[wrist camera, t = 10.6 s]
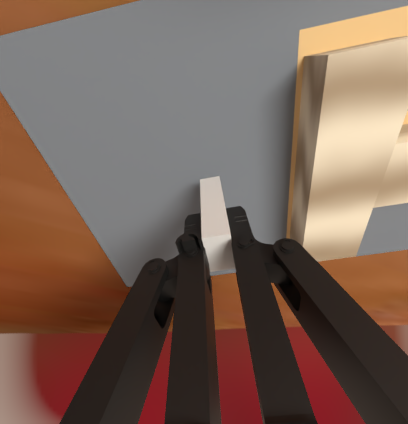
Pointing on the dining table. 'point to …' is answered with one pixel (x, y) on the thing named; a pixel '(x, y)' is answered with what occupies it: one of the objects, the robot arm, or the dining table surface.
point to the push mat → (183, 112)
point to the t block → (349, 144)
